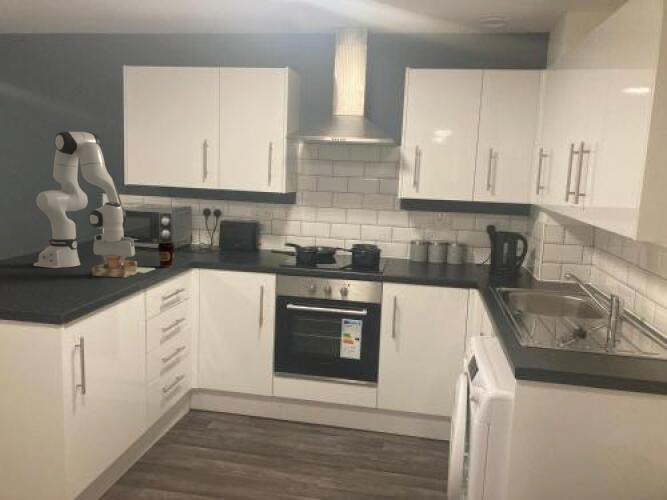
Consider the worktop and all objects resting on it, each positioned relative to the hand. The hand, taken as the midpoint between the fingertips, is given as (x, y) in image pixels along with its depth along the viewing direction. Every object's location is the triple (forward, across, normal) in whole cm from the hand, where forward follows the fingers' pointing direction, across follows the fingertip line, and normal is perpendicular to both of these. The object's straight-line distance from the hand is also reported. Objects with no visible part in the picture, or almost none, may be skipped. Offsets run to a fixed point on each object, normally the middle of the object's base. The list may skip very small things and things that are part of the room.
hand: (114, 264), depth 278 cm
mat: (+5, -5, -13) cm, 15 cm away
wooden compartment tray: (+5, 0, 0) cm, 5 cm away
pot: (+5, 0, 0) cm, 5 cm away
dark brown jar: (+5, -13, -27) cm, 30 cm away
